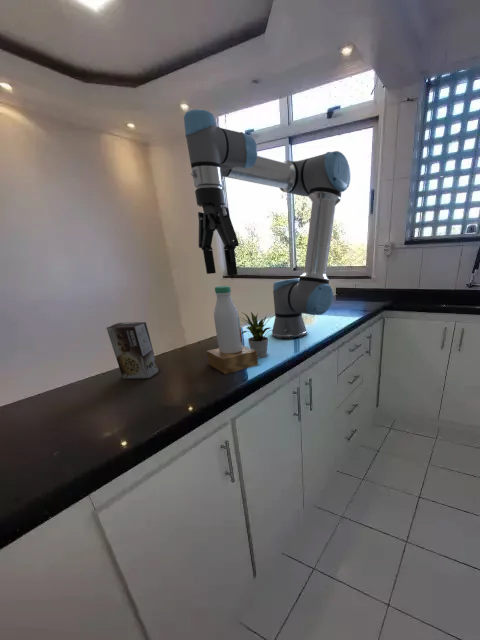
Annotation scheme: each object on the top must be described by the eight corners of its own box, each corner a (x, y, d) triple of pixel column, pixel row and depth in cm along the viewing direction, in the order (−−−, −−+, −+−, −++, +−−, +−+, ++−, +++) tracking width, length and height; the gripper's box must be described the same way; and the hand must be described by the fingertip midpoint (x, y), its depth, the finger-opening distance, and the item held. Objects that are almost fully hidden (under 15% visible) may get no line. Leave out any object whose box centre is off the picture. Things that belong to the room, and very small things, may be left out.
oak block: (240, 357, 112) (238, 343, 109) (258, 365, 103) (256, 350, 101) (208, 365, 105) (206, 350, 103) (225, 374, 97) (223, 359, 94)
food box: (159, 371, 101) (147, 321, 94) (149, 378, 95) (134, 326, 88) (133, 371, 102) (119, 321, 95) (121, 378, 96) (105, 326, 89)
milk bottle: (240, 354, 98) (232, 287, 89) (216, 354, 99) (205, 288, 90) (244, 347, 105) (237, 284, 96) (222, 347, 105) (213, 285, 97)
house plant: (228, 357, 111) (221, 311, 104) (254, 347, 121) (250, 304, 114) (257, 364, 104) (253, 315, 97) (283, 353, 114) (280, 307, 107)
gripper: (178, 194, 89) (192, 273, 99) (217, 179, 72) (230, 277, 81) (202, 195, 93) (214, 271, 103) (245, 181, 76) (254, 274, 85)
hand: (221, 274), depth 92 cm, fingers open, 13 cm apart
